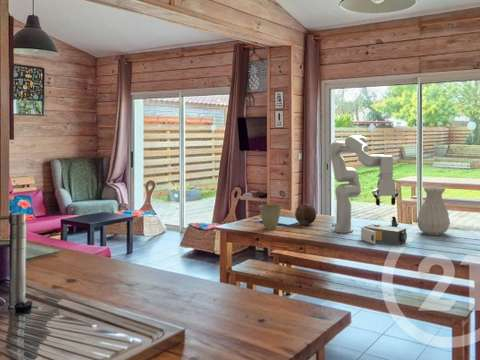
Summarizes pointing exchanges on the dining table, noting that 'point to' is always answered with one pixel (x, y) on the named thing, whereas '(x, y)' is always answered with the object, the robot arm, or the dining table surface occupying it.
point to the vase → (433, 213)
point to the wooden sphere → (305, 214)
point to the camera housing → (388, 234)
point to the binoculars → (394, 222)
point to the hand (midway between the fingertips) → (385, 205)
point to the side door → (368, 235)
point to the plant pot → (270, 215)
